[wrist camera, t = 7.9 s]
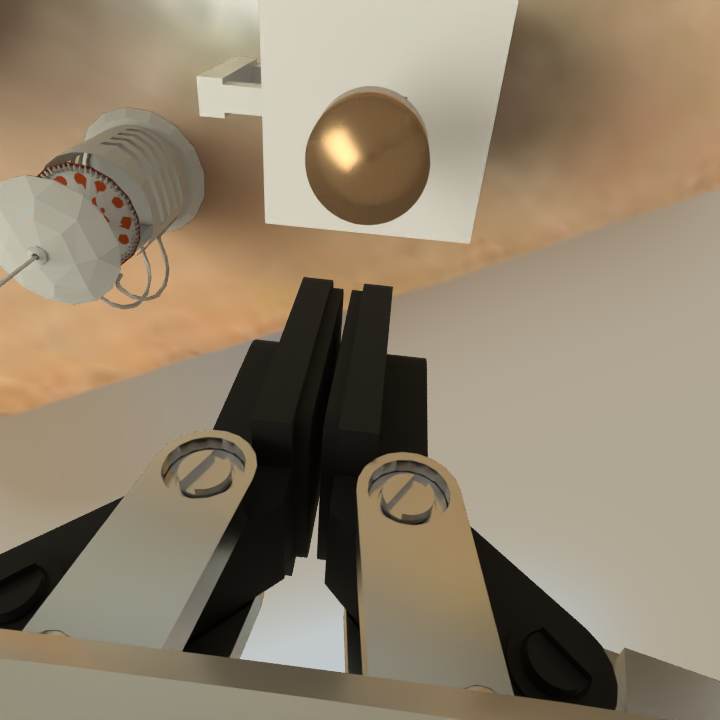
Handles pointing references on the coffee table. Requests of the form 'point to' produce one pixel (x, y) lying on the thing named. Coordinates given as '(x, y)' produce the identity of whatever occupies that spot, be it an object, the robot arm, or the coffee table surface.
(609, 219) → the coffee table surface
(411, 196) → the plunger
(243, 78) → the socket block
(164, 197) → the french press
